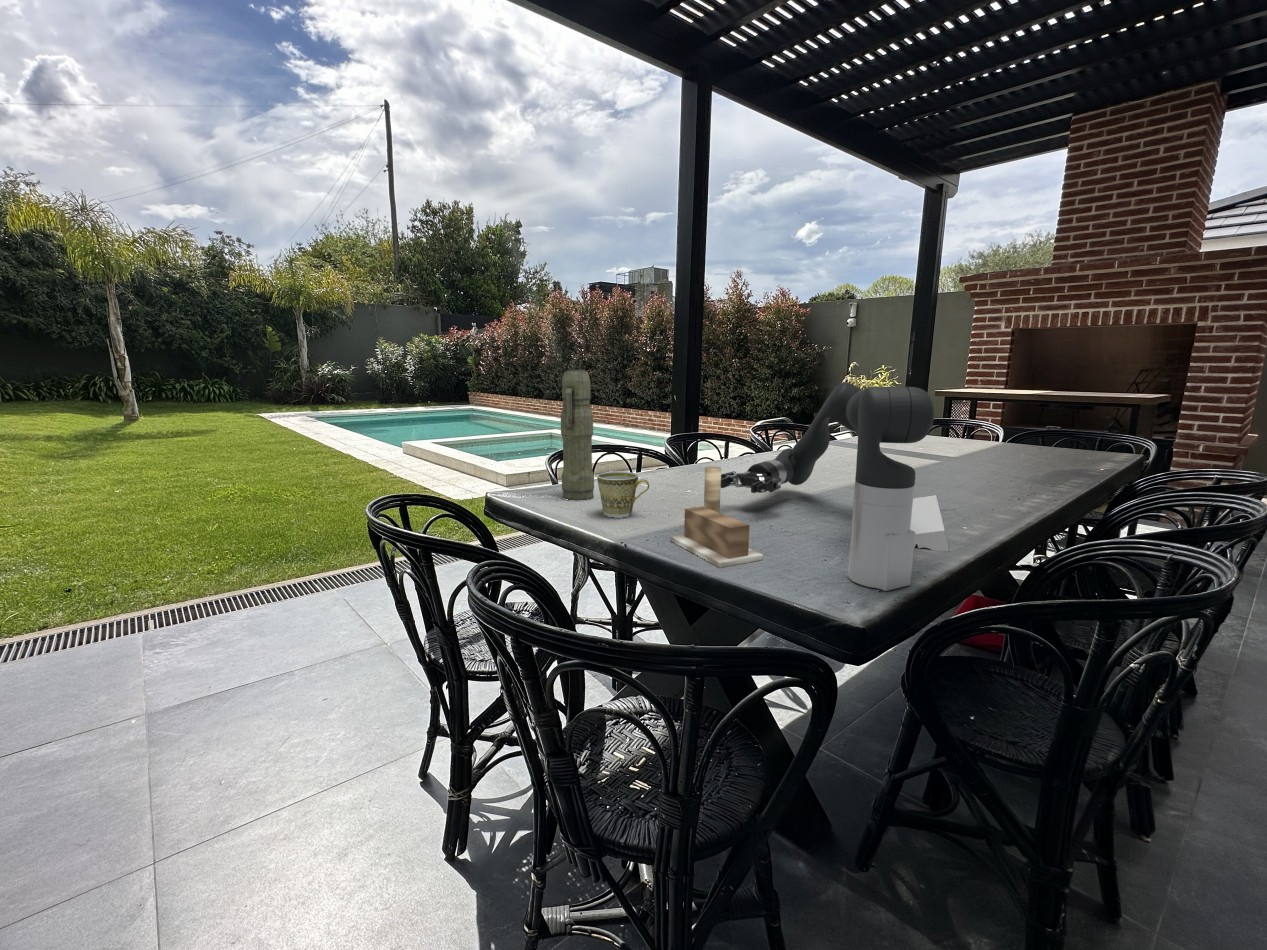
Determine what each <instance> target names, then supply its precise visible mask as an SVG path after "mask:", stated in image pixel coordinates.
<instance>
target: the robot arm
mask: <svg viewBox="0 0 1267 950" xmlns="http://www.w3.org/2000/svg"><path fill="white" fill-rule="evenodd" d="M934 407H935V406H934V403H933V400H932V399H931V397H930V395H929V394H928V392H927V391H926V390H924V389H922V388H920V387H915V386H869V387H866V388H864V389H863V388H862V389H861V388H860V387H858V386H857V385H855V384H853V383H850V382H848V381H843V382H841V383H839V384H838V385H837V386H836V387H835V388H833V390H832V392H831V393H830V394H829V396H828V397H827V398H826V400H825V401H824V402H823V405H822V406H821V408H820V409H819V411H818V412H817V413H816V415H815V416H814V418H813V420H812V422H811V424H810V425H809V427H808V429H807V430H806V432H805V433H804V434H803V435H802V436H801V438H799V440H798V441H797V442H796V443H795V445H794V446H793V448H791V447H790V448H784V449H783V450H782V451H781V452H780V453H779V454H777V456H776V457H775V458H774V459H771V460H765V461H761V462H758V463H755V464H753V465H751V466H750V467H748V469H747V470H746V471H744V472H736V471H735V470H734V471H730V472H725V473H721V489H725V488H727V487H735V488H746V489H749V488H750V492H751V494H756V493H758V494H760V493H763V494H764V493H765V492H766V493H767V492H769V493H773V492H775V491H777V490H780V489H781V488H782V487H781V486H782V485H784V484H786V483H789V484H791V485H793V486H800V485H802V484H804V483H805V482H806V481H807V480H809V478H810V477H811V475H812V474H813V473H812V472H813V470H814V467H815V465H816V462H817V461H818V460H819V459H820V458H821V457H822V456H823V455H824V454H825V453H826V451H827V450H828V448H829V444H830V437H831V436H830V427H829V426H830V425H829V424H830V419H831V420H832V421H834V422H835V423H838V424H839V425H840V426H843V427H844V428H845V429H847V430H849V431H852V432H855V433H857V450H856V451H857V452H856V465H855V479H854V490H853V492H854V494H853V503H852V504H853V505H852V514H851V515H852V516H851V530H850V531H851V532H850V543H849V555H848V557H849V559H848V570H847V573H848V574H847V577H848V579H849V580H851V582H853V583H856V584H858V585H861V586H864V587H868V588H873V589H878V590H881V591H884V592H887V591H891V590H895V589H896V590H897V589H899V588H903V587H907V586H911V580H912V570H913V561H914V551H915V548H914V543H915V532H914V531H913V530H910V527H911V516H912V505H913V498H914V496H915V495H914V493H915V484H916V475H917V473H916V470H915V469H914V468H913V467H912V466H911V465H908V464H906V463H903V462H900V461H898V460H895V459H892V458H891V457H889V456H887V455H886V454H885V453H883V452H882V451H881V443H882V444H914V443H918V442H920V441H922V440H923V439H924V438H926V437H927V435H928V434H929V432H930V431H931V430H932V427H933V424H934V421H935V408H934Z"/></svg>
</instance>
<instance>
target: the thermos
mask: <svg viewBox="0 0 1267 950" xmlns="http://www.w3.org/2000/svg"><path fill="white" fill-rule="evenodd" d="M561 391H562V393H561V395H562V401H563V404H562V409H561V413H560V435H561V437H562V454H563V456H562V457H563V461H562V463H563V464H562V465H563V467H562V468H563V470H562V474H561V491H562V499H563V498H565V499H568V500H567V501H569V500H586V501H588V500H587V499H590V500H592V499H591V498H593V497H594V498H595V495H594V490H595V477H594V476H595V473H594V471H593V459H592V458H593V453H592V452H593V451H592V449H593V448H592V446H593V445H592V443H593V442H592V440H593V439H592V437H594V436H593V435H594V414H593V411H592V408H591V399H592V398H591V397H592V396H591V379H590V376H589V373H588V371H587V370H585V369H567V370H565V371H564V373H563V376H562V381H561ZM594 498H593V499H594Z"/></svg>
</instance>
